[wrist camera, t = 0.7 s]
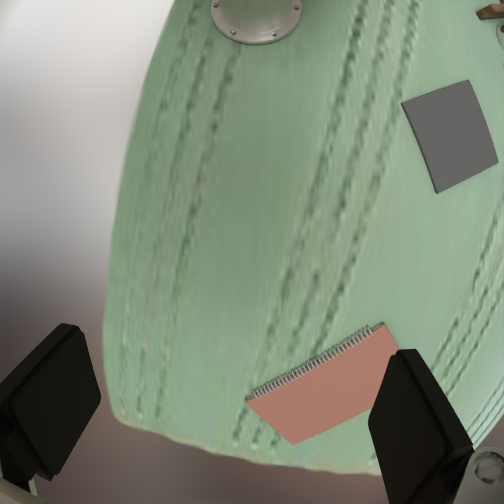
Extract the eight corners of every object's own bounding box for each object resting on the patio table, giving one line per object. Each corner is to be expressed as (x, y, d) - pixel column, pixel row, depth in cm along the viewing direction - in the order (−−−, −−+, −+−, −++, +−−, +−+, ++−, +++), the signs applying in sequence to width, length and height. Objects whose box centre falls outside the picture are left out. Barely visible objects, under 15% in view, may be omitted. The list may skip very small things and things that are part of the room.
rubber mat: (400, 103, 37) (402, 102, 37) (466, 80, 35) (468, 79, 34) (435, 193, 40) (437, 193, 40) (496, 162, 38) (498, 162, 37)
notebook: (379, 314, 47) (383, 320, 45) (413, 375, 50) (416, 381, 49) (242, 392, 53) (241, 399, 51) (292, 439, 56) (292, 446, 54)
